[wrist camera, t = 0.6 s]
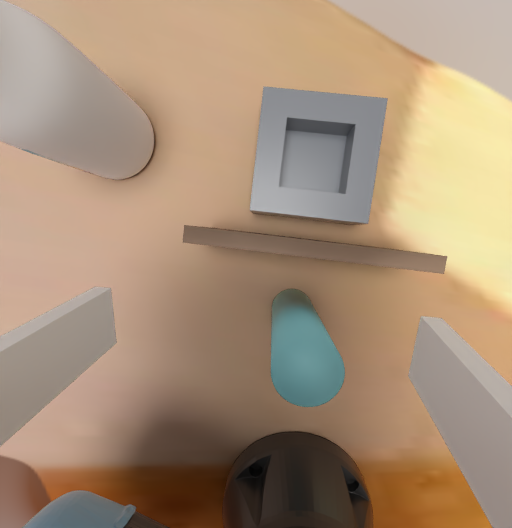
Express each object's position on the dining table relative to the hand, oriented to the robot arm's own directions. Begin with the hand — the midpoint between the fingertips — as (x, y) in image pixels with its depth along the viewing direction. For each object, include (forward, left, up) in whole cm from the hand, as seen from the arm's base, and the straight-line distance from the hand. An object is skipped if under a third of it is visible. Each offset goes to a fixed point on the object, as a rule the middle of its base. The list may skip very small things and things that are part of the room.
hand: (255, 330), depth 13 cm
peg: (-3, -3, -17) cm, 18 cm away
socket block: (+11, -3, -17) cm, 21 cm away
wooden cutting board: (+3, -3, -17) cm, 18 cm away
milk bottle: (+11, +16, -18) cm, 26 cm away
